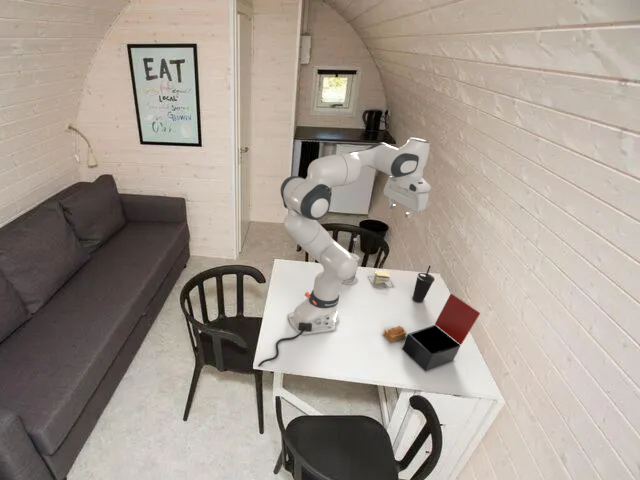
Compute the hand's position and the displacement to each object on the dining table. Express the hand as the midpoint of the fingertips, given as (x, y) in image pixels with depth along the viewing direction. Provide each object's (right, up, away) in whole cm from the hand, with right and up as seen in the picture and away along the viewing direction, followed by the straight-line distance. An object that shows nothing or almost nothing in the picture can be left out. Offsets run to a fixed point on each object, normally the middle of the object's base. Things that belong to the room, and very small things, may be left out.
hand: (399, 212), depth 147 cm
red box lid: (+18, -43, -9) cm, 47 cm away
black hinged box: (+10, -59, -2) cm, 60 cm away
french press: (-10, -29, +43) cm, 53 cm away
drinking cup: (+22, -39, +28) cm, 53 cm away
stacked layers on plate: (+8, -31, +41) cm, 52 cm away
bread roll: (+1, -53, +7) cm, 53 cm away
